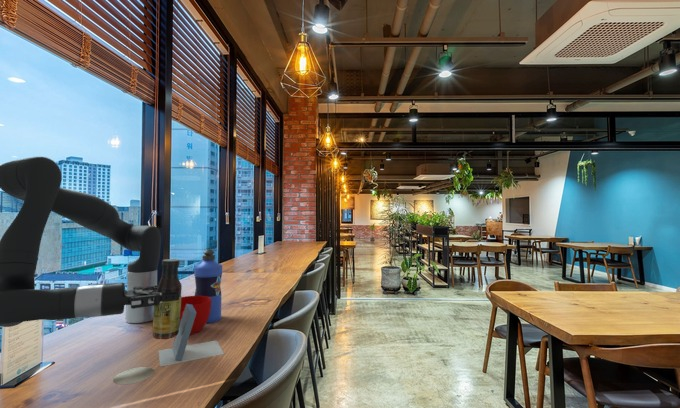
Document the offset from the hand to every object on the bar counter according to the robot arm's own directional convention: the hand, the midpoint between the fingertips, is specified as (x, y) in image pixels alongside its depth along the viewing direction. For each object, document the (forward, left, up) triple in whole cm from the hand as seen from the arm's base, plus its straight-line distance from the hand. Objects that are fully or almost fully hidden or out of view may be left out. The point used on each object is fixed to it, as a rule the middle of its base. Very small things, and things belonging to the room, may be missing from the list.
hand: (177, 292), depth 89 cm
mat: (+2, +3, -17) cm, 17 cm away
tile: (0, 0, -16) cm, 16 cm away
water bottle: (-19, +25, -17) cm, 36 cm away
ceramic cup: (-12, +12, -17) cm, 24 cm away
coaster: (+2, -12, -17) cm, 21 cm away
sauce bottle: (-1, -2, -11) cm, 11 cm away
